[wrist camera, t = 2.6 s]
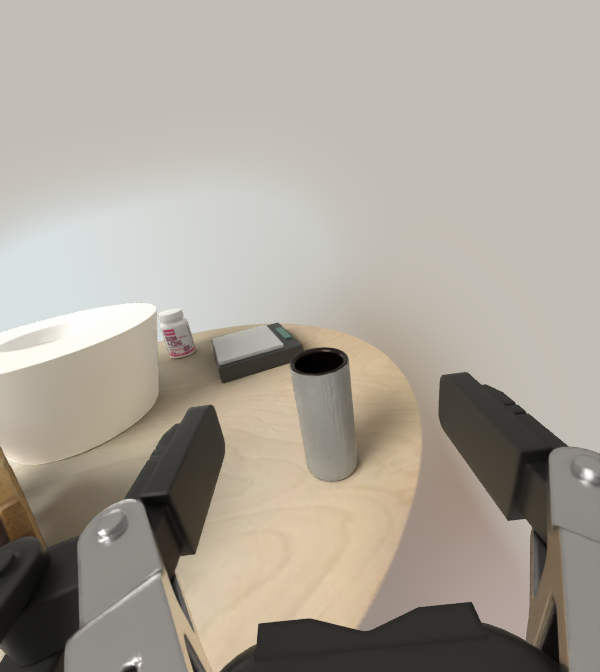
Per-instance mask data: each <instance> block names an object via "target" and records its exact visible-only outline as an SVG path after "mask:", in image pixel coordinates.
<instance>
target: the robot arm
mask: <svg viewBox="0 0 600 672" xmlns="http://www.w3.org/2000/svg"><path fill="white" fill-rule="evenodd" d="M439 391H440V392H439V419H440V423H441V426H442V428H443V430H444V431H445V433H446V434H447V436H448V437H449V438H450V440H451V441H452V443H453V444H454V445H455V447H456V448H457V450H458V451H459V453H460V454H461V455H462V457H463V458H464V459H465V461H466V462H467V464H468V465H469V467H470V468H471V469H472V471H473V472H474V473H475V475H476V476H477V478H478V479H479V481H480V482H481V483H482V485H483V486H484V488H485V489H486V490H487V492H488V493H489V495H490V496H491V497H492V499H493V500H494V502H495V503H496V505H497V506H498V507H499V509H500V510H501V511H502V513H503V514H504V516H505V517H506V519H507V520H508V521H510V520H518V519H526V520H527V521H528V522H529V524H530V525H531V526H532V530H531V536H530V538H531V539H530V543H531V544H530V608H529V619H528V627H527V636H526V641H525V640H523V639H522V638H520V637H518V636H516V635H514V634H511V633H510V632H508V631H505V630H503V629H501V628H498V627H495V626H492V625H489V624H486V623H481V621H480V619H479V617H478V615H477V612H476V610H475V608H474V606H473V604H472V602H467V603H456V604H446V605H438V606H427V607H418V608H416V609H414V610H412V611H410V612H408V613H406V614H404V615H402V616H399V617H398V618H395V619H393V620H391V621H389V622H387V623H385V624H383V625H381V626H379V627H377V628H375V629H373V630H370V631H360V630H355V629H351V628H347V627H343V626H339V625H335V624H331V623H327V622H322V621H318V620H314V619H310V618H309V619H299V620H290V621H280V622H270V623H260V624H258V635H257V644H256V645H254V646H252V647H250V648H248V649H247V650H245V651H244V652H242V653H241V654H239V655H238V656H236V657H235V658H234V659H233V660H232V661H230V662H229V663H228V664H227V665H226V666H225V667H224V668H223V669H222V670H221V671H220V672H600V454H599V453H597V452H594V451H591V450H587V449H583V448H578V447H569V446H567V445H566V444H565V443H563V442H562V441H561V440H560V439H559V438H558V437H556V436H555V435H554V434H553V433H552V432H550V431H549V430H548V429H547V428H545V427H544V426H543V425H541V424H540V423H539V422H538V421H537V420H536V419H534V418H533V417H532V416H531V415H530V414H527V413H526V411H525V410H524V409H522V408H521V407H520V406H519V405H516V404H515V402H514V401H513V400H511V399H510V398H509V397H508V396H507V395H505V394H504V393H503V392H501V391H499V390H496V389H495V388H492V387H490V386H488V385H486V384H485V385H481V384H480V383H479V382H478V381H477V380H475V379H474V378H473V377H472V376H471V375H470V374H468V373H467V372H463V373H454V374H447V375H442V377H441V378H440V390H439ZM224 455H225V441H224V437H223V434H222V431H221V427H220V424H219V421H218V417H217V414H216V411H215V408H214V407H213V405H206V406H198V407H191V408H189V409H188V411H187V413H186V414H185V416H184V418H183V420H182V421H181V423H179V424H175V425H174V426H173V427H172V428H171V429H169V430H168V431H167V432H166V433H165V434H164V435H163V436H162V438H161V440H160V441H159V443H158V445H157V446H156V450H154V451H153V453H152V454H151V456H150V460H148V461H147V463H146V464H145V466H144V467H143V469H142V471H141V472H140V474H139V476H138V477H137V479H136V481H135V482H134V484H133V485H132V487H131V489H130V490H129V492H128V494H127V495H126V497H125V499H124V500H122V501H119V502H117V503H114V504H112V505H110V506H109V507H107V508H106V509H104V510H103V511H101V512H100V513H99V514H97V515H96V516H95V517H94V518H93V519H92V520H91V521H90V522H89V523H88V525H87V526H86V527H85V528H84V530H83V532H82V533H81V535H79V536H76V537H74V538H71V539H69V540H66V541H64V542H61V543H59V544H56V545H54V546H51V547H49V548H46V549H45V547H44V546H43V545H42V543H41V542H40V541H39V539H38V538H36V537H32V536H28V537H23V538H19V539H16V540H14V541H12V542H9V543H7V544H5V545H4V546H2V547H0V649H1V650H2V651H3V652H4V653H5V656H4V658H3V659H2V661H1V662H0V672H212V669H211V667H210V664H209V662H208V659H207V657H206V655H205V652H204V650H203V647H202V645H201V642H200V639H199V637H198V634H197V631H196V628H195V625H194V622H193V619H192V616H191V613H190V610H189V607H188V604H187V601H186V599H185V596H184V593H183V590H182V587H181V584H180V581H179V578H178V575H177V573H176V571H175V569H176V566H177V563H178V560H179V557H180V556H184V555H193V554H195V553H196V550H197V546H198V543H199V540H200V536H201V533H202V529H203V526H204V523H205V519H206V516H207V513H208V509H209V506H210V503H211V499H212V496H213V493H214V489H215V486H216V483H217V479H218V476H219V473H220V469H221V466H222V463H223V459H224Z"/></svg>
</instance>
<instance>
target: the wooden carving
mask: <svg viewBox="0 0 600 672" xmlns="http://www.w3.org/2000/svg"><path fill="white" fill-rule="evenodd" d="M28 536H32V537H36V538H38V539H39V541H40V542H41V543H42V545H43V546H44V547H45V549H46V548H47V547H46V545H45V542H44V540H43V538H42V535H41V533H40V531H39V528H38V526H37V523H36V521H35V519H34V516H33V514H32V512H31V509H30V507H29V505H28V503H27V500H26V498H25V496H24V494H23V491H22V489H21V487H20V485H19V483H18V480H17V478H16V476H15V474H14V472H13V470H12V468H11V466H10V465H9V463H8V461H7V459H6V457H5V455H4V452H3V450H2V448H1V446H0V547H2V546H4V545H5V544H7V543H9V542H12V541H14V540H16V539H19V538H23V537H28Z"/></svg>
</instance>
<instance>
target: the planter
mask: <svg viewBox="0 0 600 672" xmlns="http://www.w3.org/2000/svg"><path fill="white" fill-rule="evenodd" d="M290 372H291V377H292V383H293V388H294V394H295V399H296V405H297V410H298V416H299V422H300V427H301V433H302V438H303V444H304V449H305V455H306V460H307V465H308V468H309V470H310V472H311V473H312V474H313V475H314V476H315V477H317V478H319V479H321V480H324V481H339V480H342V479H345V478H347V477H348V476H350V475H351V474H352V473H353V472H354V470H355V469H356V466H357V446H356V435H355V424H354V413H353V402H352V391H351V380H350V369H349V359H348V356H347V355H346V353H344V352H343V351H341V350H339V349H335V348H327V347H323V348H314V349H309V350H306V351H303V352H301V353H299V354H297V355H296V356H295V357H294V358H293V359H292V360H291V362H290Z"/></svg>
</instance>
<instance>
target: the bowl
mask: <svg viewBox="0 0 600 672" xmlns="http://www.w3.org/2000/svg"><path fill="white" fill-rule="evenodd" d="M158 394H159V382H158V346H157V311H156V307H155V306H154V305H151V304H144V303H133V304H132V303H131V304H122V305H113V306H107V307H101V308H95V309H90V310H85V311H80V312H75V313H71V314H67V315H63V316H58V317H54V318H50V319H46V320H42V321H39V322H35V323H31V324H28V325H24V326H21V327H17V328H14V329H11V330H7V331H5V332H1V333H0V446H1V448H2V450H3V452H4V455H5V457H6V458H8V459H10V460H11V461H13V462H15V463H18V464H22V465H39V464H46V463H51V462H55V461H60V460H63V459H66V458H69V457H72V456H75V455H78V454H81V453H83V452H85V451H88V450H90V449H92V448H95V447H97V446H99V445H101V444H103V443H105V442H106V441H108V440H110V439H112V438H114V437H116V436H117V435H119V434H120V433H122V432H124V431H125V430H127V429H128V428H130V427H131V426H132V425H134V424H135V423H136V422H138V421H139V420H140V419H141V418H142V417H143V416H144V415H145V414H146V413H148V411H149V410H150V409H151V408H152V407H153V405H154V404H155V402H156V400H157V398H158Z"/></svg>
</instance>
